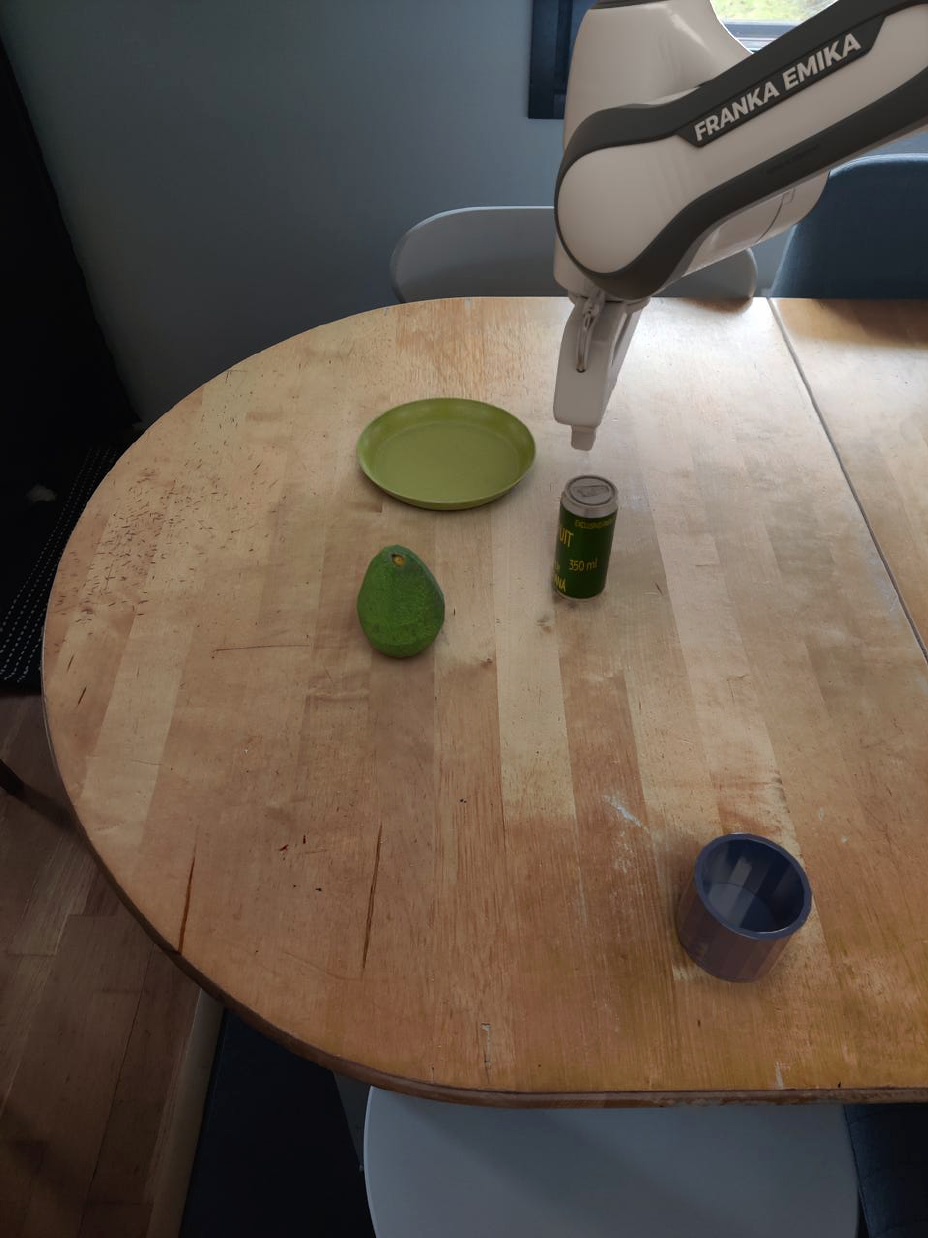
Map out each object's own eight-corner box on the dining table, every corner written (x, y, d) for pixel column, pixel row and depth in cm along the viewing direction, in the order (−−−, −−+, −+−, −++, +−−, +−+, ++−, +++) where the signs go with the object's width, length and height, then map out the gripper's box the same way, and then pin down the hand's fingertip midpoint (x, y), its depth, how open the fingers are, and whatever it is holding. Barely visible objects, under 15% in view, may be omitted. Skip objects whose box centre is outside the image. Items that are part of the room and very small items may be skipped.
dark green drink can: (594, 564, 89) (608, 469, 80) (612, 599, 85) (629, 504, 77) (544, 572, 88) (553, 477, 80) (561, 608, 84) (572, 513, 76)
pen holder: (785, 897, 64) (813, 850, 58) (780, 997, 58) (810, 955, 53) (682, 868, 65) (701, 820, 60) (668, 964, 60) (687, 919, 55)
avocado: (353, 672, 79) (340, 576, 70) (371, 611, 84) (361, 516, 76) (439, 681, 78) (436, 586, 69) (452, 620, 83) (450, 524, 75)
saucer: (330, 504, 96) (327, 480, 94) (395, 408, 110) (393, 385, 107) (508, 539, 92) (510, 516, 89) (552, 435, 105) (554, 412, 103)
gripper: (632, 322, 56) (607, 492, 66) (675, 208, 69) (649, 363, 79) (538, 309, 57) (528, 478, 67) (598, 199, 71) (582, 353, 81)
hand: (594, 415), depth 73 cm, fingers open, 8 cm apart
